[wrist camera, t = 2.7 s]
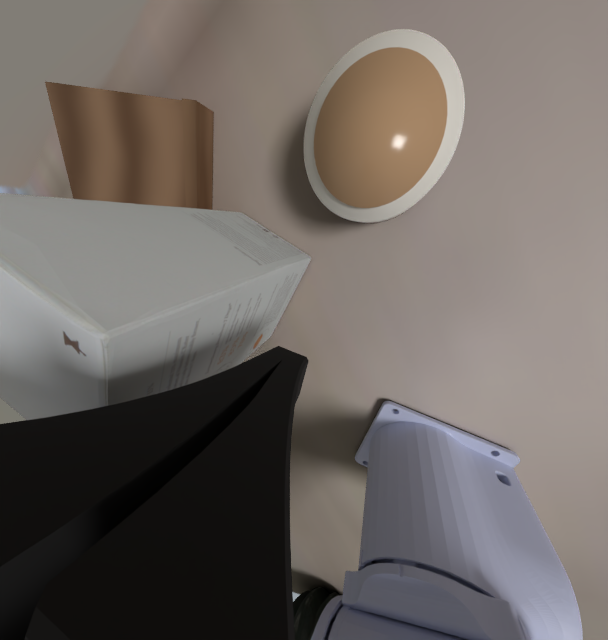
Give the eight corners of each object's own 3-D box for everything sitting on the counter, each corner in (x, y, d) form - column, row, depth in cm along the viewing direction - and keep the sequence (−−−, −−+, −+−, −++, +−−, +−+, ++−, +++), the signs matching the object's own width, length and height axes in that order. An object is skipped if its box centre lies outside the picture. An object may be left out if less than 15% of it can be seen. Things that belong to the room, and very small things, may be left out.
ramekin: (473, 87, 10) (509, 25, 7) (412, 234, 13) (419, 236, 10) (338, 75, 11) (319, 19, 8) (311, 210, 14) (290, 205, 11)
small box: (241, 210, 16) (-121, 171, 5) (314, 256, 15) (103, 339, 4) (214, 298, 20) (-15, 393, 9) (271, 338, 19) (105, 493, 8)
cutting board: (213, 111, 14) (195, 100, 13) (210, 357, 23) (199, 365, 22) (65, 90, 17) (39, 79, 16) (114, 314, 26) (99, 319, 25)
